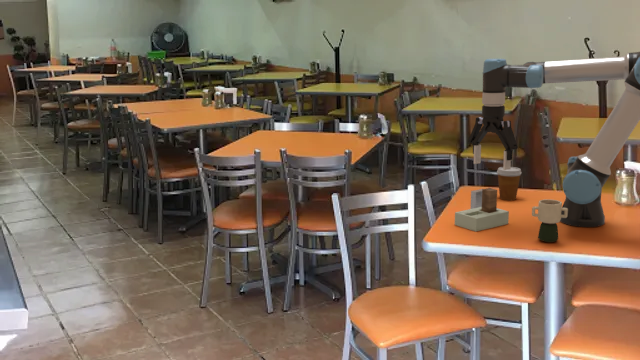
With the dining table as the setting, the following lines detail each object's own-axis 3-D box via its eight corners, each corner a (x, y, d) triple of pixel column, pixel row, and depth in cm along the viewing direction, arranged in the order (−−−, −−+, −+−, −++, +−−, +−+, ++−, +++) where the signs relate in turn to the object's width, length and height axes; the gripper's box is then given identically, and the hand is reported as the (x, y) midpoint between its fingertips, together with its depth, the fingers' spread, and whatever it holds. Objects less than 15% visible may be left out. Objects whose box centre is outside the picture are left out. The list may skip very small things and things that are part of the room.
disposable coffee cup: (491, 199, 289) (493, 169, 286) (500, 194, 297) (502, 165, 294) (515, 202, 284) (516, 172, 281) (523, 197, 291) (525, 168, 289)
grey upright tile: (486, 213, 268) (487, 189, 266) (475, 216, 265) (476, 192, 263) (481, 212, 270) (482, 188, 268) (470, 214, 267) (471, 190, 265)
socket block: (508, 223, 255) (508, 211, 254) (475, 231, 246) (476, 218, 245) (486, 217, 263) (487, 205, 262) (454, 224, 254) (455, 212, 253)
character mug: (564, 238, 237) (567, 199, 234) (566, 245, 230) (569, 205, 228) (529, 236, 240) (531, 198, 237) (530, 243, 233) (533, 203, 230)
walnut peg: (495, 223, 256) (497, 189, 253) (488, 224, 254) (490, 191, 251) (488, 220, 259) (489, 187, 256) (481, 222, 257) (482, 189, 254)
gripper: (530, 107, 239) (527, 170, 244) (474, 101, 259) (472, 159, 264) (514, 108, 235) (512, 173, 240) (459, 102, 255) (457, 162, 260)
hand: (491, 166), depth 252 cm, fingers open, 13 cm apart
